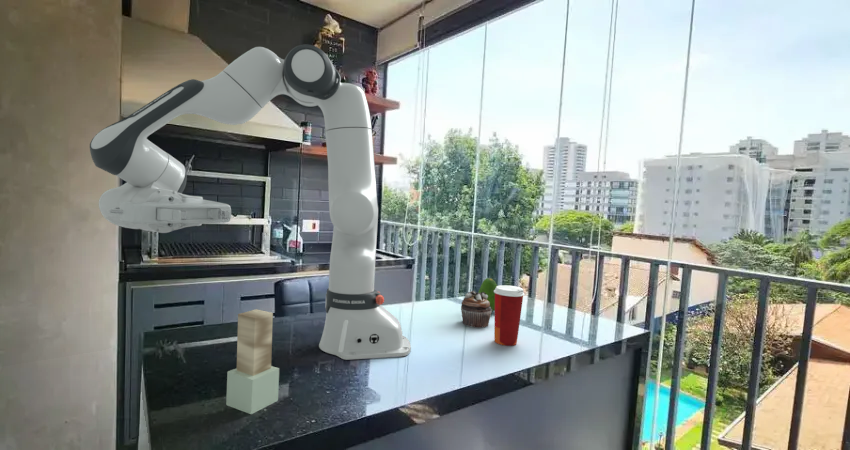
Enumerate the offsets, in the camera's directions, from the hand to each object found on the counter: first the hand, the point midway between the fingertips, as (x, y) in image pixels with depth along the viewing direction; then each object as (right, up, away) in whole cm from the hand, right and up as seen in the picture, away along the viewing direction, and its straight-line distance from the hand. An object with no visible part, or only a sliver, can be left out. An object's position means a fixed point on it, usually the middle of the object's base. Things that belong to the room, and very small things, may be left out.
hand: (206, 215), depth 82 cm
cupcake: (+57, -33, +53) cm, 84 cm away
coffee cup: (+63, -34, +37) cm, 81 cm away
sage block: (+11, -33, -6) cm, 35 cm away
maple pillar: (+11, -27, -6) cm, 30 cm away
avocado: (+63, -32, +68) cm, 98 cm away
